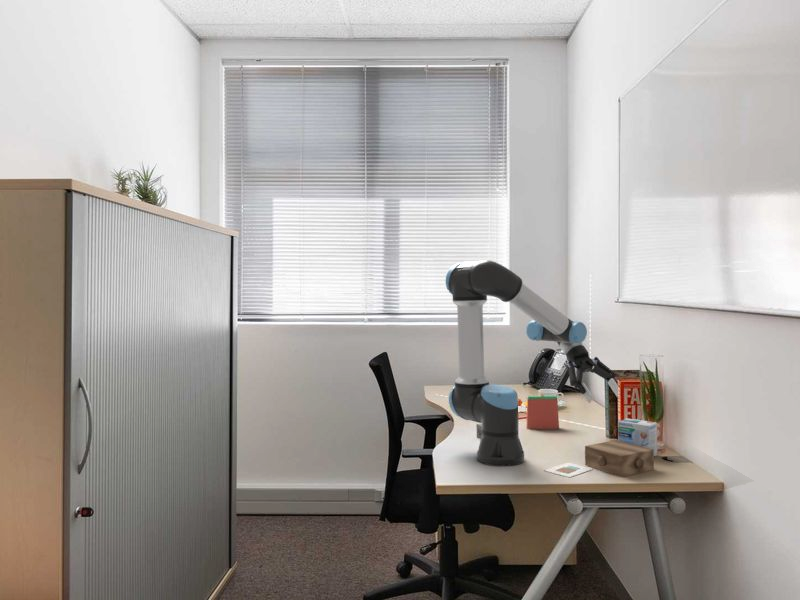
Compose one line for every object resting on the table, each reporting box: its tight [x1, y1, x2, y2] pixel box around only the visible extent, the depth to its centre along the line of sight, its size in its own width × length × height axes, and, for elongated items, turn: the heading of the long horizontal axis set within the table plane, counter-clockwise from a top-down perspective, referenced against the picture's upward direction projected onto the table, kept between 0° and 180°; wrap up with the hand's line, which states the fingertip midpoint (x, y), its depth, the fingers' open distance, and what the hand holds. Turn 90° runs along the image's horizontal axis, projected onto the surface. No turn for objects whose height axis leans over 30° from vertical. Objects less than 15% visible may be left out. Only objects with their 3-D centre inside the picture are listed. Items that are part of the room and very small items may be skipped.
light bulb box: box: [617, 417, 658, 457], centre depth 201 cm, size 11×7×11 cm, turn 45°
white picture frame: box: [543, 462, 594, 479], centre depth 184 cm, size 12×9×1 cm
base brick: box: [584, 439, 655, 478], centre depth 186 cm, size 15×15×6 cm
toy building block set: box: [518, 392, 560, 430], centre depth 257 cm, size 12×35×14 cm, turn 178°
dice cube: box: [476, 423, 482, 440], centre depth 226 cm, size 5×5×5 cm
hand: (606, 397), depth 213 cm, fingers open, 13 cm apart
